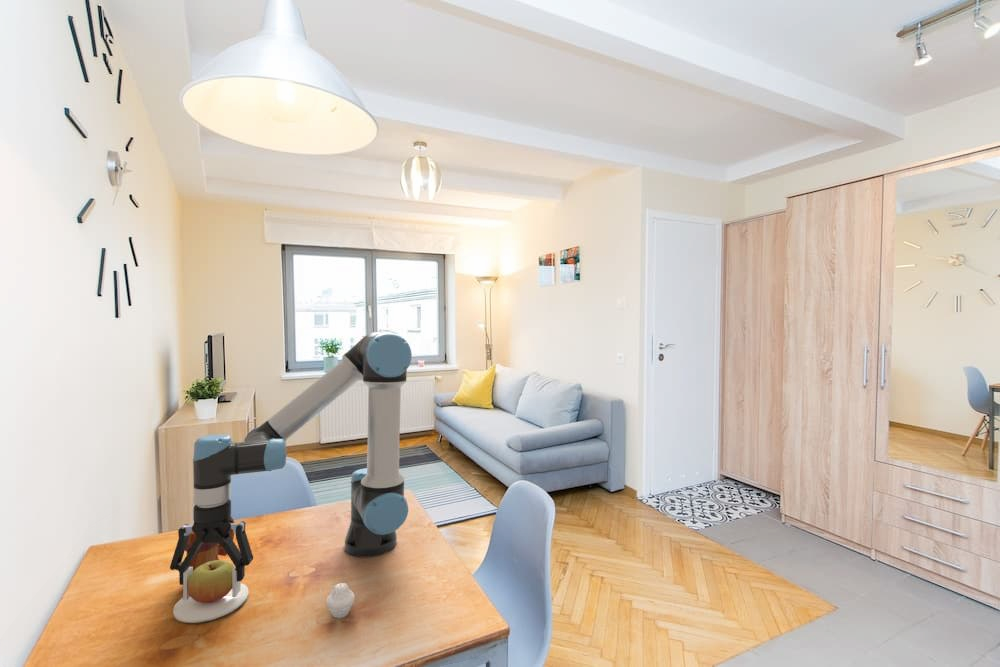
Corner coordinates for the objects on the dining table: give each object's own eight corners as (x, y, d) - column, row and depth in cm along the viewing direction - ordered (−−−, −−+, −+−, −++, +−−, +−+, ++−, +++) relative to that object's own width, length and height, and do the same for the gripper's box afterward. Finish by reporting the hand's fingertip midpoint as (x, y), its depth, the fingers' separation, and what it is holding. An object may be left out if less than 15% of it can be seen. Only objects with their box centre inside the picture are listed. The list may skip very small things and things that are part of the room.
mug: (200, 595, 112) (200, 534, 112) (172, 591, 114) (172, 531, 113) (245, 565, 126) (245, 511, 126) (219, 561, 128) (219, 508, 128)
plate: (258, 585, 117) (258, 579, 117) (232, 622, 102) (232, 616, 102) (194, 589, 115) (194, 583, 115) (158, 628, 100) (158, 622, 100)
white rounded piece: (332, 605, 109) (332, 576, 109) (358, 606, 109) (358, 576, 108) (321, 622, 103) (321, 591, 102) (348, 623, 102) (349, 592, 102)
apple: (182, 613, 102) (182, 577, 102) (191, 590, 111) (192, 557, 111) (233, 603, 106) (233, 569, 106) (238, 581, 115) (238, 550, 115)
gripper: (268, 494, 113) (268, 583, 114) (169, 498, 110) (169, 589, 110) (257, 506, 106) (257, 601, 106) (150, 510, 103) (150, 608, 103)
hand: (212, 595), depth 108 cm, fingers closed on apple, 10 cm apart
